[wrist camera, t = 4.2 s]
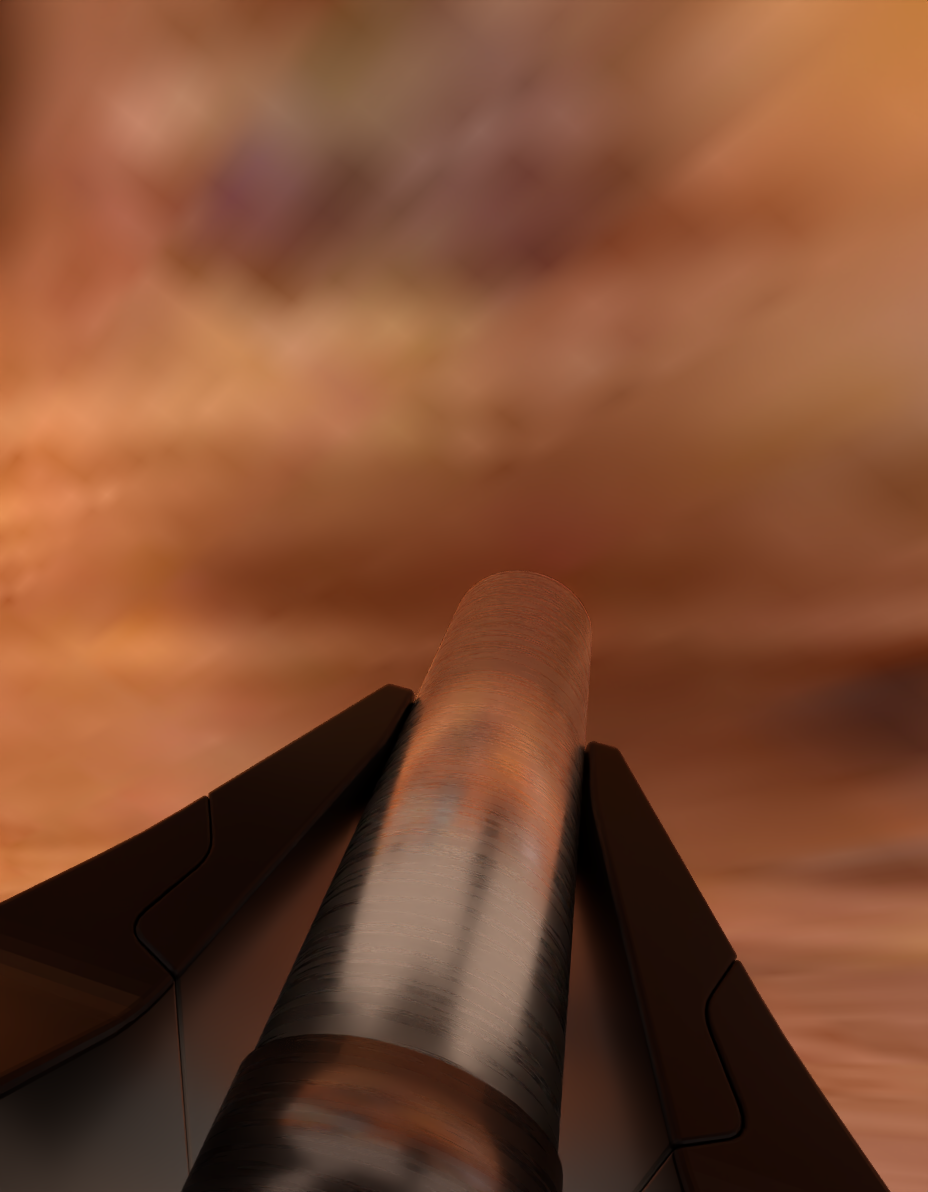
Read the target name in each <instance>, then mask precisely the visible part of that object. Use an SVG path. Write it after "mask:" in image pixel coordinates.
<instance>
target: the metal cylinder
mask: <svg viewBox="0 0 928 1192" xmlns="http://www.w3.org/2000/svg"><path fill="white" fill-rule="evenodd" d="M591 648H592V627H591V622H590V618H589V616H588V613H587V611H586V609H585V607H584V605H583V604H582V602H581V601H580V600H579V598H578V597H577V596H576V595H575V594H574V593H573V592H572V591H571V590H570V589H569V588H567V587H566V586H565V585H564V584H562V583H560V582H559V581H557V580H555V579H553V578H551V577H549V576H546V575H543V574H540V573H536V572H531V571H522V570H513V571H505V572H499V573H496V574H493V575H490V576H488V577H486V578H484V579H482V580H480V581H479V582H477V583H476V584H475V585H474V586H472V587H471V588H470V589H469V590H468V591H467V592H466V594H465V595H464V596H463V598H462V599H461V601H460V603H459V605H458V608H457V610H456V612H455V614H454V616H453V618H452V621H451V623H450V625H449V627H448V629H447V631H446V634H445V636H444V638H443V640H442V642H441V644H440V647H439V649H438V651H437V653H436V655H435V658H434V660H433V662H432V664H431V666H430V668H429V671H428V673H427V675H426V677H425V679H424V681H423V684H422V686H421V688H420V690H419V692H418V695H417V697H416V699H415V701H414V703H413V705H412V708H411V710H410V712H409V714H408V716H407V718H406V721H405V723H404V725H403V727H402V729H401V732H400V734H399V736H398V738H397V740H396V742H395V745H394V747H393V749H392V751H391V753H390V755H389V758H388V760H387V762H386V764H385V766H384V769H383V771H382V773H381V775H380V777H379V779H378V782H377V784H376V786H375V788H374V790H373V792H372V795H371V797H370V799H369V801H368V803H367V805H366V808H365V810H364V812H363V814H362V816H361V819H360V821H359V823H358V825H357V827H356V829H355V832H354V834H353V836H352V838H351V840H350V842H349V845H348V847H347V849H346V851H345V853H344V856H343V858H342V860H341V862H340V864H339V866H338V869H337V871H336V873H335V875H334V877H333V879H332V882H331V884H330V886H329V888H328V890H327V893H326V895H325V897H324V899H323V901H322V903H321V906H320V908H319V910H318V912H317V914H316V916H315V919H314V921H313V923H312V925H311V927H310V930H309V932H308V934H307V936H306V938H305V940H304V943H303V945H302V947H301V949H300V951H299V953H298V956H297V958H296V960H295V962H294V964H293V966H292V969H291V971H290V973H289V975H288V977H287V980H286V982H285V984H284V986H283V988H282V990H281V993H280V995H279V997H278V999H277V1001H276V1003H275V1006H274V1008H273V1010H272V1012H271V1014H270V1017H269V1019H268V1021H267V1023H266V1025H265V1027H264V1030H263V1032H262V1034H261V1036H260V1038H259V1040H258V1043H257V1045H256V1047H255V1049H254V1050H253V1051H252V1052H251V1053H249V1054H248V1055H247V1056H246V1058H245V1059H244V1060H243V1061H242V1062H241V1064H240V1067H239V1069H238V1071H237V1073H236V1075H235V1077H234V1079H233V1082H232V1084H231V1086H230V1088H229V1090H228V1092H227V1094H226V1097H225V1099H224V1101H223V1103H222V1105H221V1107H220V1109H219V1111H218V1114H217V1116H216V1118H215V1120H214V1122H213V1124H212V1126H211V1129H210V1131H209V1133H208V1135H207V1137H206V1139H205V1141H204V1144H203V1146H202V1148H201V1150H200V1152H199V1154H198V1156H197V1158H196V1161H195V1163H194V1165H193V1167H192V1169H191V1171H190V1173H189V1176H188V1178H187V1180H186V1182H185V1184H184V1186H183V1188H182V1190H181V1192H562V1191H563V1169H562V1163H561V1160H560V1158H559V1155H558V1147H559V1132H560V1117H561V1102H562V1086H563V1071H564V1056H565V1041H566V1026H567V1011H568V996H569V981H570V965H571V950H572V935H573V920H574V905H575V890H576V875H577V860H578V844H579V829H580V814H581V799H582V784H583V769H584V754H585V739H586V724H587V708H588V693H589V678H590V663H591Z"/></svg>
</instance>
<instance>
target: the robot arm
mask: <svg viewBox="0 0 928 1192" xmlns="http://www.w3.org/2000/svg"><path fill="white" fill-rule="evenodd" d="M413 703H414V692H413V691H412V690H410V689H407V688H403V687H400V686H396V685H393V684H388V685H385V686H383V687H382V688H380V689H378V690H377V691H375V692H373V693H372V694H370V695H369V696H367V697H365V698H364V699H362V700H360V701H359V702H357V703H355V704H354V705H352V706H351V707H349V708H347V709H346V710H344V711H342V712H341V713H339V714H337V715H336V716H334V717H332V718H331V719H329V720H328V721H326V722H324V723H323V724H321V725H319V726H318V727H316V728H314V729H313V730H311V731H310V732H308V733H306V734H305V735H303V736H301V737H300V738H298V739H296V740H295V741H293V742H291V743H290V744H288V745H287V746H285V747H283V748H282V749H280V750H278V751H277V752H275V753H273V754H272V755H270V756H268V757H267V758H265V759H264V760H262V761H260V762H259V763H257V764H255V765H254V766H252V767H250V768H249V769H247V770H246V771H244V772H242V773H241V774H239V775H237V776H236V777H234V778H232V779H231V780H229V781H227V782H226V783H224V784H223V785H221V786H219V787H218V788H216V789H214V790H213V791H211V792H210V793H209V794H208V797H207V796H202V797H201V798H199V799H198V800H196V801H194V802H193V803H191V804H189V805H188V806H186V807H184V808H183V809H181V810H179V811H178V812H176V813H174V814H172V815H171V816H169V817H167V818H166V819H164V820H162V821H160V822H159V823H157V824H155V825H153V826H152V827H150V828H148V829H146V830H145V831H143V832H141V833H139V834H137V835H135V836H133V837H131V838H129V839H128V840H126V841H124V842H122V843H120V844H118V845H116V846H114V847H112V848H110V849H108V850H106V851H104V852H102V853H100V854H98V855H97V856H94V857H92V858H90V859H88V860H86V861H84V862H82V863H80V864H78V865H76V866H74V867H72V868H70V869H68V870H66V871H64V872H62V873H60V874H58V875H56V876H54V877H52V878H50V879H48V880H46V881H43V882H41V883H39V884H37V885H35V886H33V887H31V888H29V889H27V890H25V891H23V892H21V893H19V894H17V895H15V896H13V897H11V898H9V899H7V900H5V901H3V902H1V903H0V1192H181V1190H182V1188H183V1186H184V1184H185V1182H186V1180H187V1178H188V1176H189V1173H190V1171H191V1169H192V1167H193V1165H194V1163H195V1161H196V1158H197V1156H198V1154H199V1152H200V1150H201V1148H202V1146H203V1144H204V1141H205V1139H206V1137H207V1135H208V1133H209V1131H210V1129H211V1126H212V1124H213V1122H214V1120H215V1118H216V1116H217V1114H218V1111H219V1109H220V1107H221V1105H222V1103H223V1101H224V1099H225V1097H226V1094H227V1092H228V1090H229V1088H230V1086H231V1084H232V1082H233V1079H234V1077H235V1075H236V1073H237V1071H238V1069H239V1067H240V1064H241V1062H242V1061H243V1060H244V1059H245V1058H246V1056H247V1055H248V1054H249V1053H251V1052H252V1051H253V1050H254V1049H255V1047H256V1045H257V1043H258V1040H259V1038H260V1036H261V1034H262V1032H263V1030H264V1027H265V1025H266V1023H267V1021H268V1019H269V1017H270V1014H271V1012H272V1010H273V1008H274V1006H275V1003H276V1001H277V999H278V997H279V995H280V993H281V990H282V988H283V986H284V984H285V982H286V980H287V977H288V975H289V973H290V971H291V969H292V966H293V964H294V962H295V960H296V958H297V956H298V953H299V951H300V949H301V947H302V945H303V943H304V940H305V938H306V936H307V934H308V932H309V930H310V927H311V925H312V923H313V921H314V919H315V916H316V914H317V912H318V910H319V908H320V906H321V903H322V901H323V899H324V897H325V895H326V893H327V890H328V888H329V886H330V884H331V882H332V879H333V877H334V875H335V873H336V871H337V869H338V866H339V864H340V862H341V860H342V858H343V856H344V853H345V851H346V849H347V847H348V845H349V842H350V840H351V838H352V836H353V834H354V832H355V829H356V827H357V825H358V823H359V821H360V819H361V816H362V814H363V812H364V810H365V808H366V805H367V803H368V801H369V799H370V797H371V795H372V792H373V790H374V788H375V786H376V784H377V782H378V779H379V777H380V775H381V773H382V771H383V769H384V766H385V764H386V762H387V760H388V758H389V755H390V753H391V751H392V749H393V747H394V745H395V742H396V740H397V738H398V736H399V734H400V732H401V729H402V727H403V725H404V723H405V721H406V718H407V716H408V714H409V712H410V710H411V708H412V705H413ZM736 958H737V955H736V953H735V951H734V949H733V948H732V946H731V944H730V942H729V941H728V939H727V937H726V935H725V934H724V932H723V930H722V928H721V927H720V925H719V923H718V922H717V920H716V918H715V916H714V915H713V913H712V911H711V909H710V908H709V906H708V904H707V902H706V901H705V899H704V897H703V895H702V894H701V892H700V890H699V888H698V887H697V885H696V883H695V881H694V880H693V878H692V876H691V875H690V873H689V871H688V869H687V868H686V866H685V864H684V862H683V861H682V859H681V857H680V855H679V854H678V852H677V850H676V848H675V847H674V845H673V843H672V841H671V840H670V838H669V836H668V834H667V833H666V831H665V829H664V828H663V826H662V824H661V822H660V821H659V819H658V817H657V815H656V814H655V812H654V810H653V808H652V807H651V805H650V803H649V801H648V800H647V798H646V796H645V794H644V793H643V791H642V789H641V787H640V786H639V784H638V782H637V780H636V779H635V777H634V775H633V774H632V772H631V770H630V768H629V767H628V765H627V763H626V761H625V760H624V758H623V756H622V754H621V753H620V751H619V750H618V749H617V748H615V747H612V746H609V745H605V744H602V743H598V742H595V741H592V742H590V743H589V744H588V745H587V747H586V749H585V754H584V769H583V784H582V799H581V814H580V829H579V844H578V860H577V875H576V890H575V905H574V920H573V935H572V950H571V965H570V981H569V996H568V1011H567V1026H566V1041H565V1056H564V1071H563V1086H562V1102H561V1117H560V1132H559V1147H558V1155H559V1158H560V1160H561V1163H562V1169H563V1191H562V1192H890V1190H889V1189H888V1187H887V1186H886V1184H885V1183H884V1182H883V1180H882V1179H881V1177H880V1176H879V1174H878V1173H877V1171H876V1170H875V1168H874V1167H873V1166H872V1164H871V1163H870V1161H869V1160H868V1158H867V1157H866V1155H865V1154H864V1152H863V1151H862V1150H861V1148H860V1147H859V1145H858V1144H857V1142H856V1141H855V1139H854V1138H853V1136H852V1135H851V1134H850V1132H849V1131H848V1129H847V1128H846V1126H845V1125H844V1123H843V1122H842V1120H841V1119H840V1118H839V1116H838V1115H837V1113H836V1112H835V1110H834V1109H833V1107H832V1106H831V1104H830V1103H829V1102H828V1100H827V1099H826V1097H825V1096H824V1094H823V1093H822V1091H821V1090H820V1088H819V1087H818V1085H817V1084H816V1082H815V1081H814V1079H813V1078H812V1076H811V1075H810V1073H809V1072H808V1070H807V1069H806V1067H805V1066H804V1064H803V1063H802V1061H801V1060H800V1058H799V1057H798V1055H797V1054H796V1052H795V1051H794V1049H793V1047H792V1046H791V1044H790V1043H789V1041H788V1040H787V1038H786V1037H785V1035H784V1034H783V1032H782V1030H781V1029H780V1027H779V1025H778V1024H777V1022H776V1020H775V1019H774V1017H773V1015H772V1014H771V1012H770V1010H769V1009H768V1007H767V1006H766V1004H765V1002H764V1001H763V999H762V997H761V996H760V994H759V992H758V991H757V989H756V987H755V985H754V984H753V982H752V980H751V978H750V977H749V975H748V973H747V972H746V970H745V968H744V966H743V965H742V963H741V962H740V961H739V960H736Z"/></svg>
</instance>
